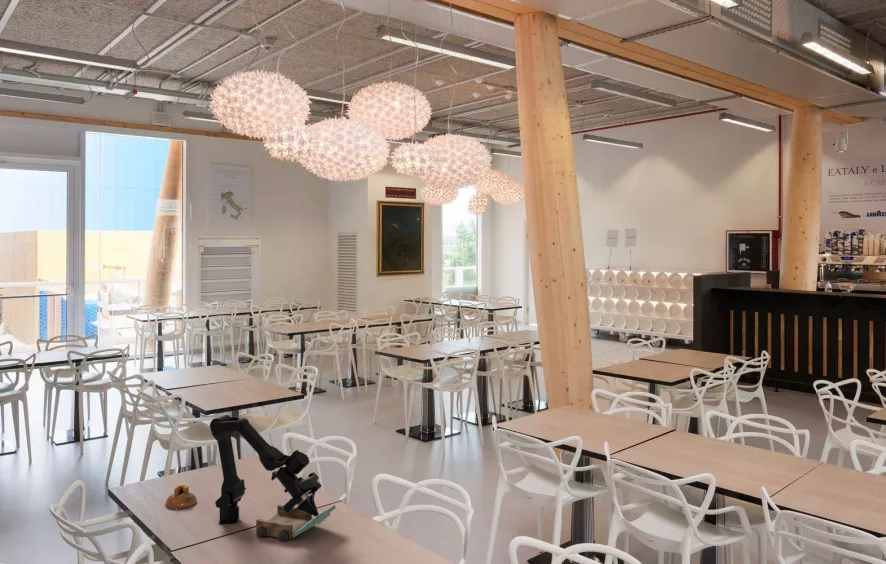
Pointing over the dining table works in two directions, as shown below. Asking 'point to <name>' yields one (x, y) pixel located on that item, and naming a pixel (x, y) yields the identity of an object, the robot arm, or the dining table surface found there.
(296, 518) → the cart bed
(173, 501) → the bell
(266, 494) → the dining table surface
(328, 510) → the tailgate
